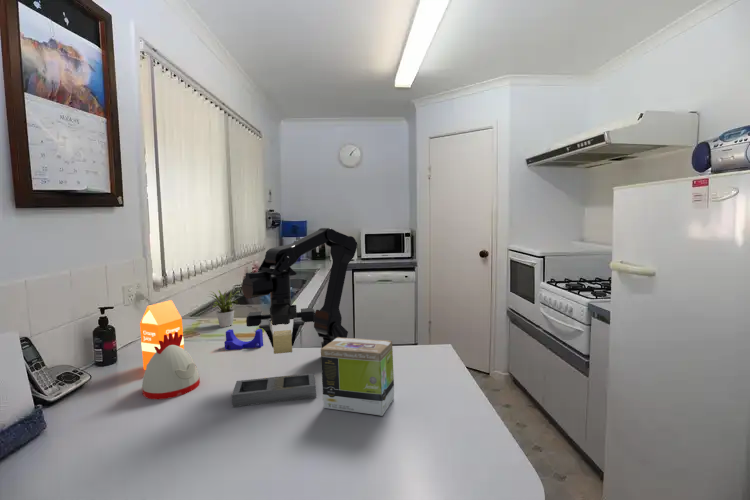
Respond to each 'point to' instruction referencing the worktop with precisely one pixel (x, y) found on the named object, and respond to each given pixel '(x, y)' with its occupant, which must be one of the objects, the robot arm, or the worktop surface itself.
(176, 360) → the kitchen timer
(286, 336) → the brass cuboid
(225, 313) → the house plant
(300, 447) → the worktop surface
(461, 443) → the worktop surface
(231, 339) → the cable clip
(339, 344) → the tea box
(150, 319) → the orange juice
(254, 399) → the grey flat block
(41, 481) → the worktop surface
